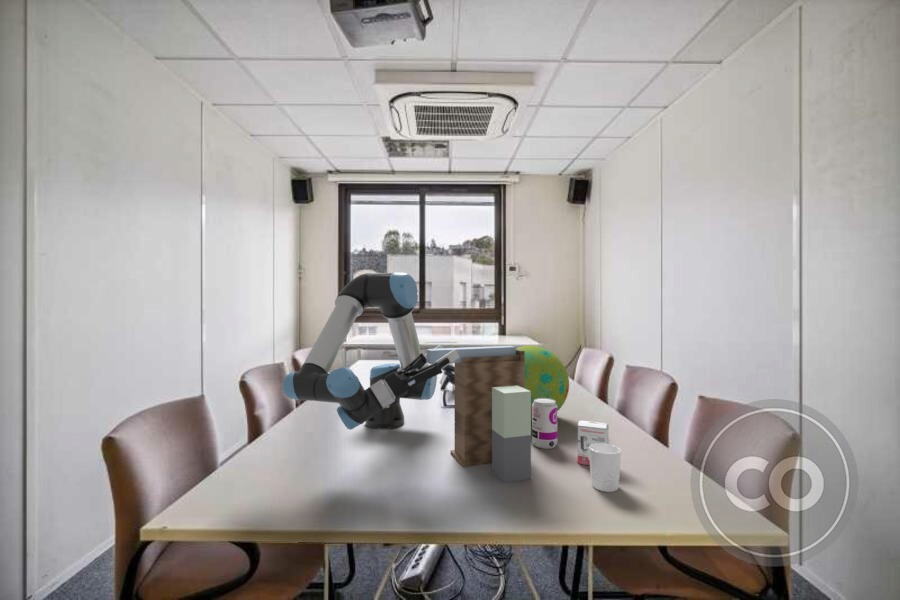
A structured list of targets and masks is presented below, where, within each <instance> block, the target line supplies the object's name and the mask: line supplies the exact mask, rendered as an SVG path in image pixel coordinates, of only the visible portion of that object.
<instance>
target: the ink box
mask: <svg viewBox="0 0 900 600" xmlns="http://www.w3.org/2000/svg"><path fill="white" fill-rule="evenodd" d="M595 443H604V444H609V424H608V423H607V422H599V421H597V422H596V421H589V420H578V422H577V464H578V465H585V466H590V458H589V446H590V445H591V444H595Z"/></svg>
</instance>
